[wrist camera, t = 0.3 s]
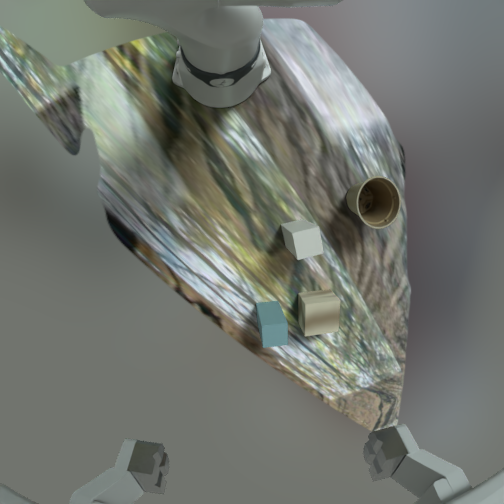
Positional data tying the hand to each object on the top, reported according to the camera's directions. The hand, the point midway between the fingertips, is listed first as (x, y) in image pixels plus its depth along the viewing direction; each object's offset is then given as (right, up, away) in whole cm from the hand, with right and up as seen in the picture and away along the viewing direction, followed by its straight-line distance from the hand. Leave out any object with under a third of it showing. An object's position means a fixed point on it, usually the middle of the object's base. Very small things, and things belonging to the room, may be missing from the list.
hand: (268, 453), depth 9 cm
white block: (+8, +11, +47) cm, 49 cm away
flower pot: (+21, +18, +46) cm, 54 cm away
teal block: (+3, -5, +50) cm, 50 cm away
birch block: (+13, -4, +51) cm, 52 cm away
